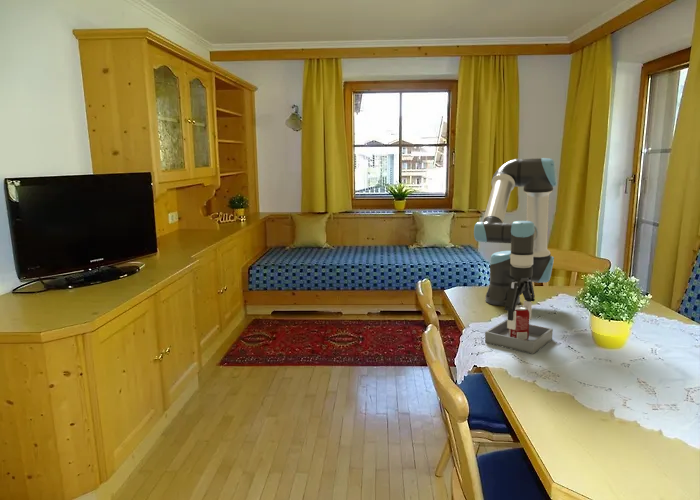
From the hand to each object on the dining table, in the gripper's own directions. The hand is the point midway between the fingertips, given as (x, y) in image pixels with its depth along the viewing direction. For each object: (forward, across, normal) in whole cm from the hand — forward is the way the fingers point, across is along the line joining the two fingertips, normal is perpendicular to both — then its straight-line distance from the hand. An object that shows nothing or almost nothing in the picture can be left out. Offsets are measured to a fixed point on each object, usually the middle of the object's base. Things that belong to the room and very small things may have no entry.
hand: (519, 323), depth 174 cm
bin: (+6, 0, 0) cm, 7 cm away
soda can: (+6, 0, 0) cm, 6 cm away
